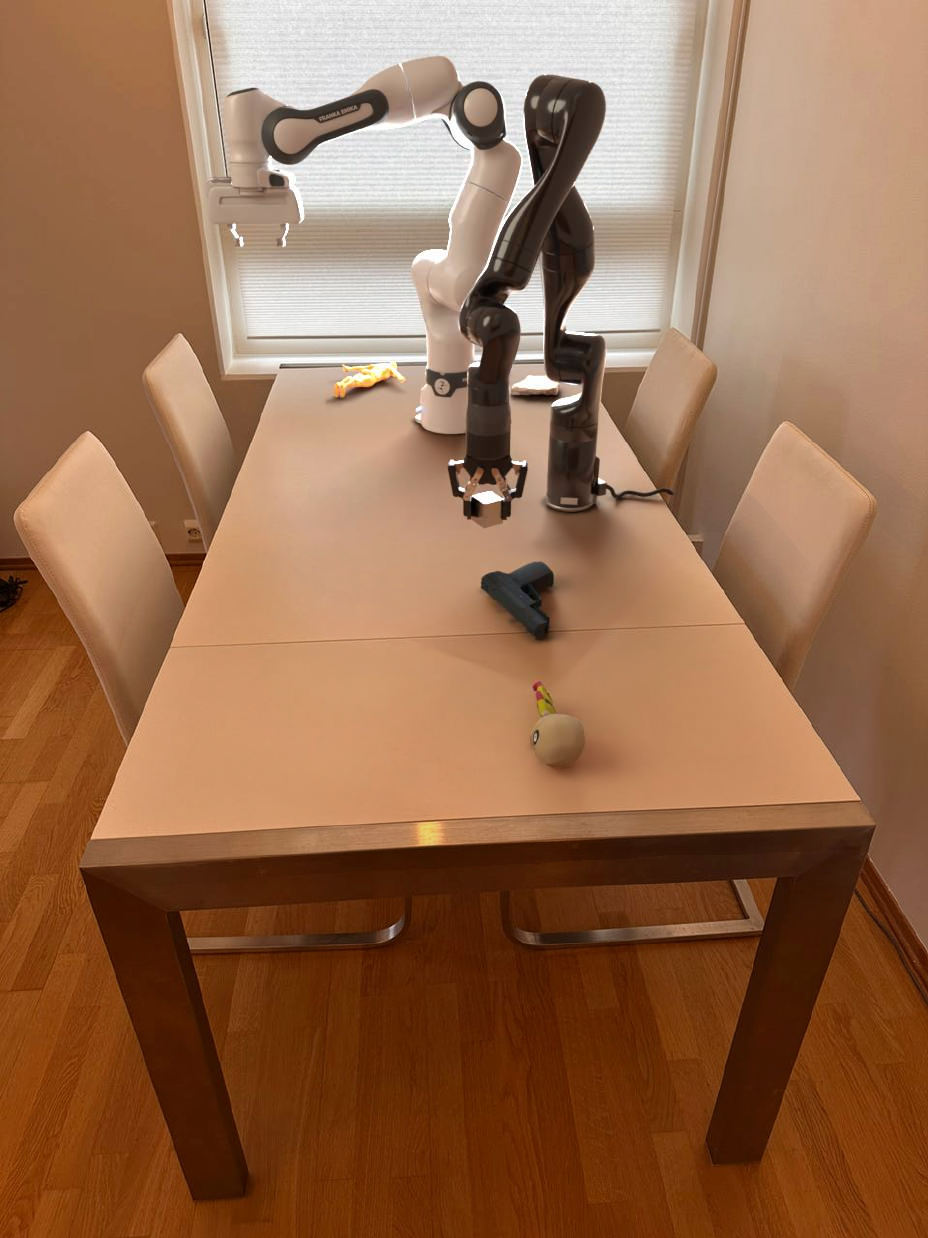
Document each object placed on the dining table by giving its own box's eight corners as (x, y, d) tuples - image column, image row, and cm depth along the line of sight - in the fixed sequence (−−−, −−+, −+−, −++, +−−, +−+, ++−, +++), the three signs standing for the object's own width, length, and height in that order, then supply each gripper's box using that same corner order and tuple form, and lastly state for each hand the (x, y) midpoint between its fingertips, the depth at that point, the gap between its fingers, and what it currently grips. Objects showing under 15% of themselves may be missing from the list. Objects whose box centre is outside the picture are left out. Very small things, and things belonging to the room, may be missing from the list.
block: (483, 528, 155) (484, 504, 153) (470, 519, 158) (471, 495, 156) (503, 523, 157) (503, 499, 155) (490, 514, 160) (490, 490, 158)
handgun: (595, 623, 140) (530, 643, 135) (537, 573, 153) (475, 590, 148) (597, 606, 138) (530, 625, 134) (538, 557, 151) (476, 573, 147)
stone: (553, 399, 232) (554, 389, 231) (509, 395, 235) (509, 385, 234) (564, 385, 243) (564, 375, 241) (521, 381, 246) (522, 372, 244)
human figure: (402, 372, 253) (401, 358, 251) (409, 392, 236) (408, 377, 234) (333, 377, 251) (331, 363, 249) (335, 398, 234) (333, 382, 232)
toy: (510, 684, 120) (525, 756, 108) (557, 660, 119) (578, 730, 106) (530, 713, 123) (547, 787, 110) (577, 690, 122) (599, 762, 109)
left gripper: (199, 178, 188) (209, 248, 195) (296, 177, 187) (302, 248, 194) (207, 174, 193) (217, 243, 200) (301, 174, 193) (307, 243, 200)
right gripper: (443, 433, 145) (445, 526, 154) (531, 434, 145) (528, 528, 154) (446, 417, 152) (447, 508, 161) (531, 418, 151) (527, 509, 160)
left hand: (260, 245), depth 197 cm, fingers open, 8 cm apart
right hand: (487, 517), depth 157 cm, fingers closed on block, 5 cm apart
